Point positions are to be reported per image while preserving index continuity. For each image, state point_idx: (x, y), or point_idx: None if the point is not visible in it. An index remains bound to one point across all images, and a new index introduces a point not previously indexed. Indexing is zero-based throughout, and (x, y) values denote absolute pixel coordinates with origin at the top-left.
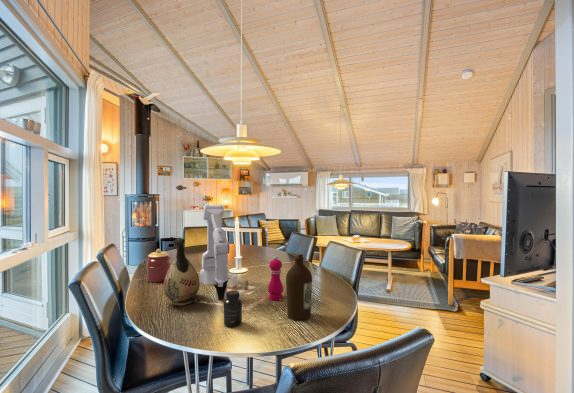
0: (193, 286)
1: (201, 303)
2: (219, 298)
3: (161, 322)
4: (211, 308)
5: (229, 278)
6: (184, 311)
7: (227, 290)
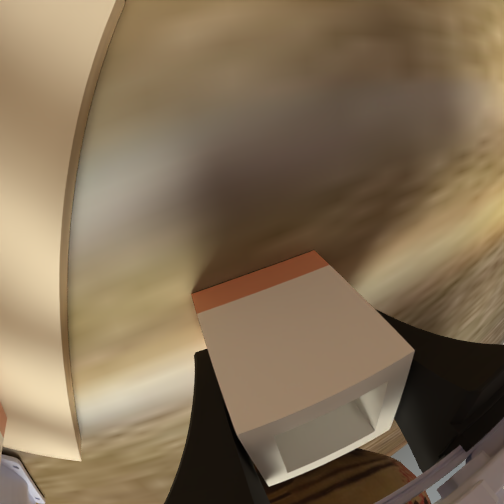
0: None
1: None
2: None
3: None
4: (415, 302)
5: (492, 493)
6: None
7: (36, 377)
